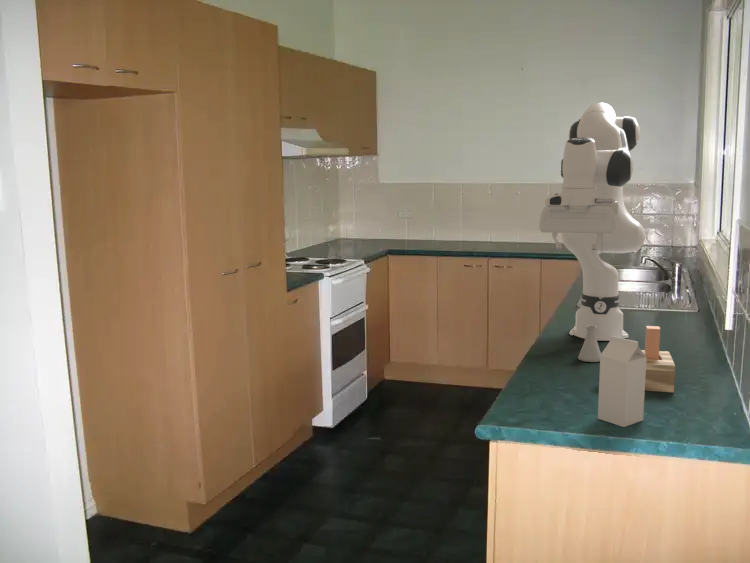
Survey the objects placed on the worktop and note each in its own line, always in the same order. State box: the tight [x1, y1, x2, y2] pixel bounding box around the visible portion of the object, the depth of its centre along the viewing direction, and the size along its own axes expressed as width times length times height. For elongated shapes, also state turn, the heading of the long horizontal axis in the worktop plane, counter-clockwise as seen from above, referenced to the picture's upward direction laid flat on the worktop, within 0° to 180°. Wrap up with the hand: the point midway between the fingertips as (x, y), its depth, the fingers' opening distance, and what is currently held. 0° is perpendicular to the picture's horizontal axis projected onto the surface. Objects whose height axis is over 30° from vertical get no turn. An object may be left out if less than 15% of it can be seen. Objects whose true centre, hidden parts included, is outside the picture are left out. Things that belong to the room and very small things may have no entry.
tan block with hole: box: [640, 349, 676, 393], centre depth 194 cm, size 14×10×7 cm
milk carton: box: [597, 336, 646, 428], centre depth 166 cm, size 7×7×19 cm
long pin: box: [644, 325, 661, 360], centre depth 193 cm, size 3×3×15 cm
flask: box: [577, 326, 602, 363], centre depth 216 cm, size 7×7×10 cm
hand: (576, 249), depth 201 cm, fingers open, 8 cm apart
